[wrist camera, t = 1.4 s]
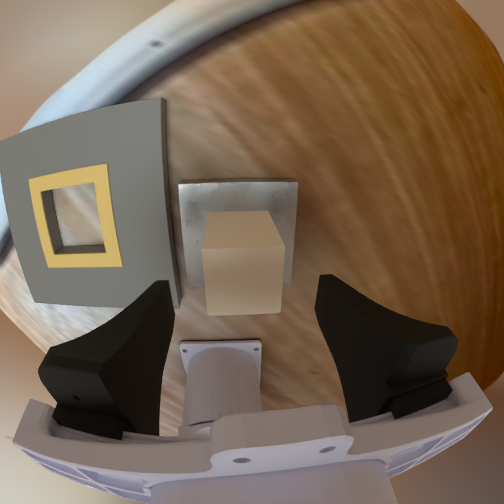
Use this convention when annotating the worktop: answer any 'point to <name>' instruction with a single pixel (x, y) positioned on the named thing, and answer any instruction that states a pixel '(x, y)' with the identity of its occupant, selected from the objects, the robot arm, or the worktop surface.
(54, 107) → the worktop surface
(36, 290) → the hole board
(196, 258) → the tab
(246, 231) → the peg
